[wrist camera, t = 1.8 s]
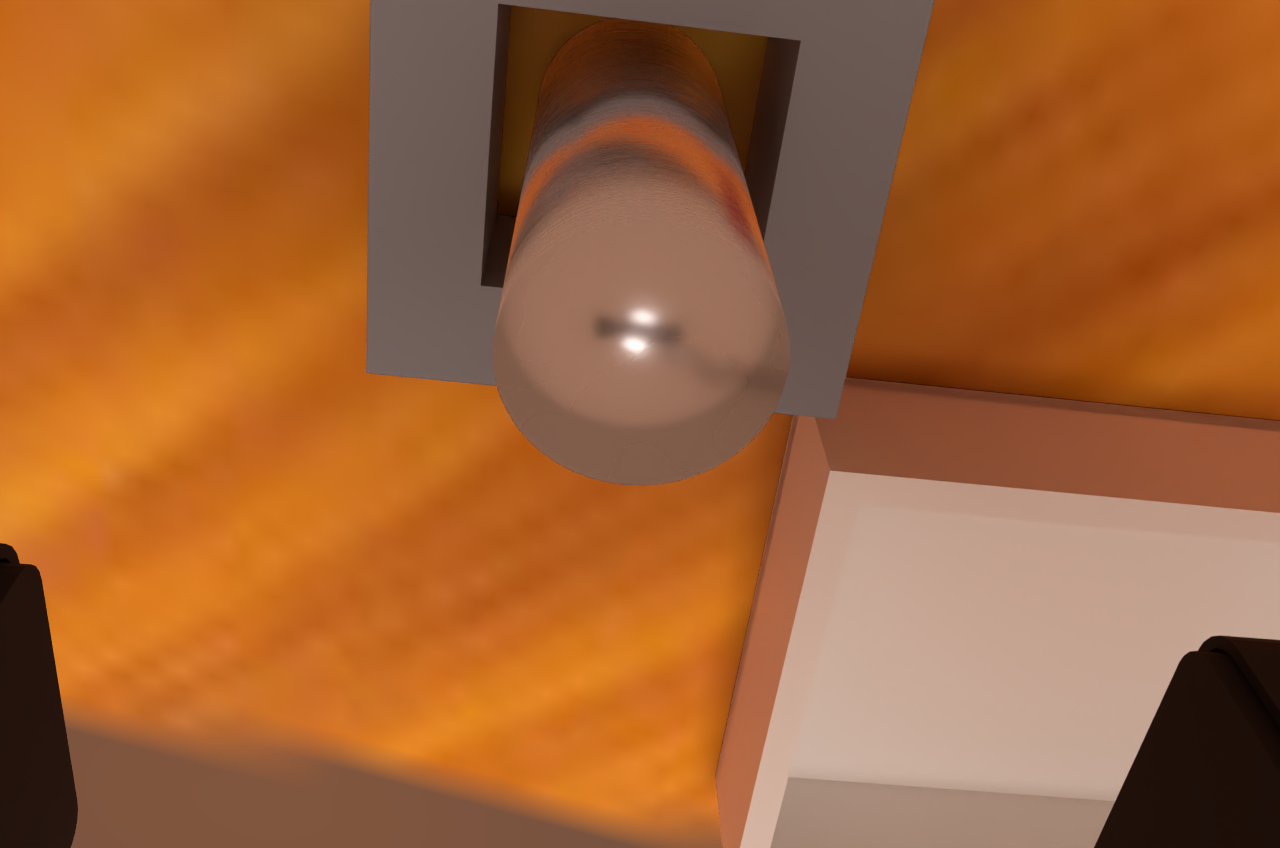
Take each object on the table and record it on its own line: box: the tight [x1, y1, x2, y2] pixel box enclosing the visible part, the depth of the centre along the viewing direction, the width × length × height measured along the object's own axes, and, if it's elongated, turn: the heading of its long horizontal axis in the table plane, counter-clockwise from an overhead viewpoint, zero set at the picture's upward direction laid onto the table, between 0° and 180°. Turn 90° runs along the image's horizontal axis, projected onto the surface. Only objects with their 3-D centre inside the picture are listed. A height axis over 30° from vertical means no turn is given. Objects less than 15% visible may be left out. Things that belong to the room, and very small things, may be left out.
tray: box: [715, 377, 1280, 848], centre depth 32 cm, size 16×14×4 cm
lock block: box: [366, 0, 935, 419], centre depth 25 cm, size 10×10×4 cm
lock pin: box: [493, 18, 790, 485], centre depth 22 cm, size 4×4×12 cm
